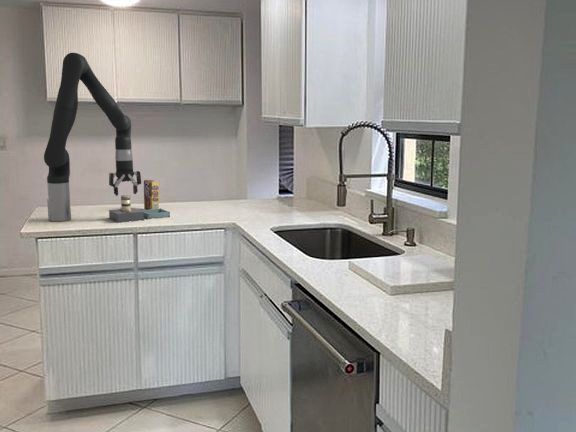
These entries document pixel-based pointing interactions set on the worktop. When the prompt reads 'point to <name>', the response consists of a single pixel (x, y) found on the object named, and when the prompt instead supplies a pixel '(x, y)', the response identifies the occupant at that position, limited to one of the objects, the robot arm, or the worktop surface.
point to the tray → (155, 213)
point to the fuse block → (126, 215)
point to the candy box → (151, 194)
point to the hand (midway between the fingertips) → (126, 194)
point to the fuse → (125, 203)
